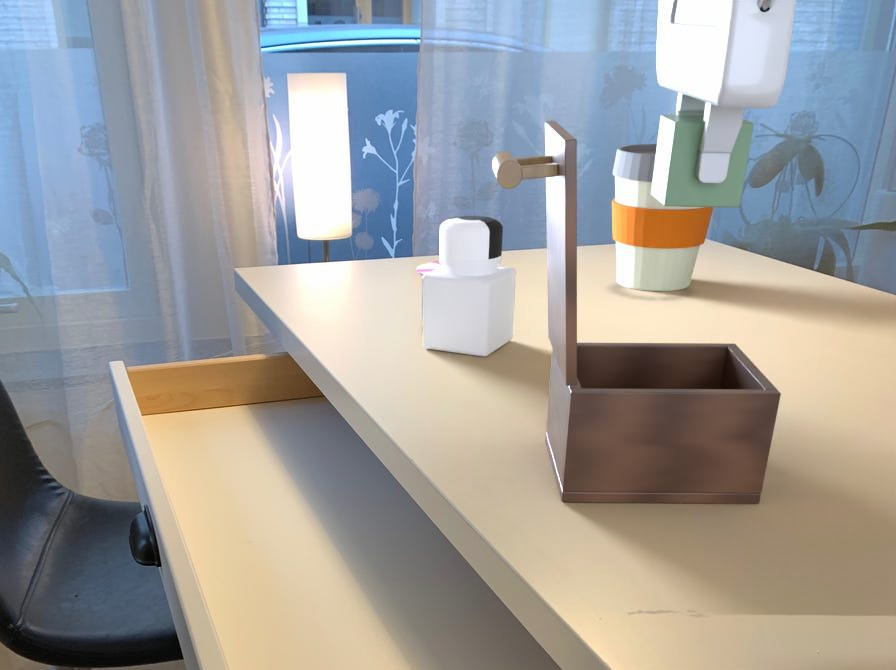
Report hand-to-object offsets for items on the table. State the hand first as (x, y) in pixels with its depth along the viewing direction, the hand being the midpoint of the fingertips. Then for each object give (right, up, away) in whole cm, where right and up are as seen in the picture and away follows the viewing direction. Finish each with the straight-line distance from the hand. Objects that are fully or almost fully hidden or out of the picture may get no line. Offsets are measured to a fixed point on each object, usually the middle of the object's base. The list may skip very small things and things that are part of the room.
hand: (698, 174), depth 68 cm
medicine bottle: (-14, -1, +35) cm, 38 cm away
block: (0, -1, +1) cm, 2 cm away
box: (-2, -19, +7) cm, 20 cm away
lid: (-9, -6, -1) cm, 11 cm away
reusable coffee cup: (+11, +13, +59) cm, 61 cm away
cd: (-13, +17, +64) cm, 67 cm away
